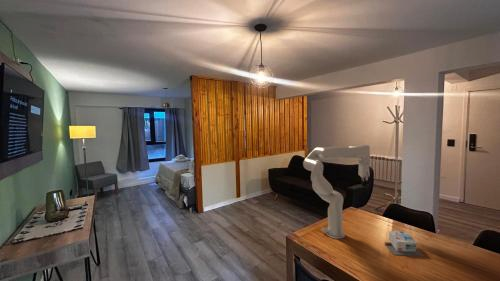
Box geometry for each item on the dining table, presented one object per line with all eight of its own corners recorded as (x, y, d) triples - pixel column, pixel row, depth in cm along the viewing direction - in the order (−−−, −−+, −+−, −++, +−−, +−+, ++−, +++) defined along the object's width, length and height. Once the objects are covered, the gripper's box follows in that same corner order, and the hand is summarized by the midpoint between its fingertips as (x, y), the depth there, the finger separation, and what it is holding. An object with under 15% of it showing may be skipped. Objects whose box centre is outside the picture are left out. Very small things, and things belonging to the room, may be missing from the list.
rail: (385, 245, 137) (385, 243, 137) (384, 244, 138) (384, 242, 138) (413, 246, 134) (413, 244, 134) (412, 245, 136) (411, 243, 136)
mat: (393, 255, 127) (393, 254, 127) (386, 246, 136) (386, 245, 136) (423, 256, 124) (423, 255, 124) (413, 247, 134) (413, 246, 134)
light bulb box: (406, 231, 137) (417, 242, 126) (405, 240, 138) (416, 252, 128) (388, 230, 139) (397, 242, 128) (388, 239, 140) (396, 251, 129)
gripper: (355, 160, 166) (355, 183, 167) (362, 163, 151) (362, 188, 153) (365, 159, 165) (366, 183, 166) (373, 163, 150) (373, 188, 151)
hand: (364, 185), depth 159 cm, fingers closed
